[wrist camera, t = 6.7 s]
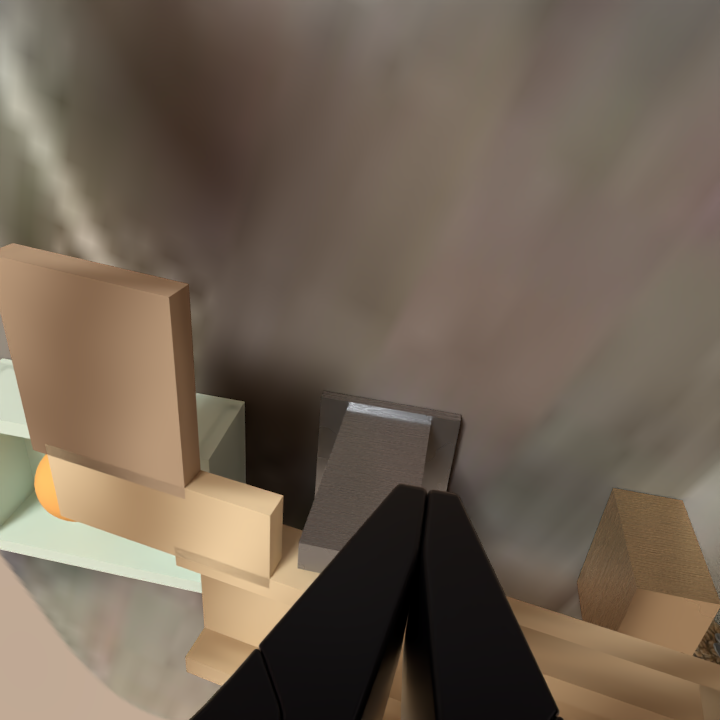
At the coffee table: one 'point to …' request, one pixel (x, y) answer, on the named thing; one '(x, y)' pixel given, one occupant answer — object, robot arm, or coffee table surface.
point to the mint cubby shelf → (83, 542)
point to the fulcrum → (431, 471)
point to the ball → (47, 489)
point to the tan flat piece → (237, 487)
